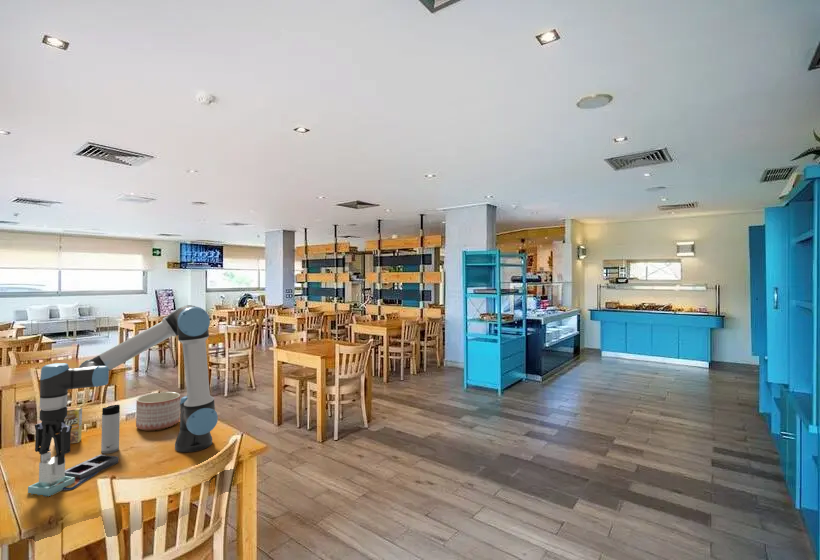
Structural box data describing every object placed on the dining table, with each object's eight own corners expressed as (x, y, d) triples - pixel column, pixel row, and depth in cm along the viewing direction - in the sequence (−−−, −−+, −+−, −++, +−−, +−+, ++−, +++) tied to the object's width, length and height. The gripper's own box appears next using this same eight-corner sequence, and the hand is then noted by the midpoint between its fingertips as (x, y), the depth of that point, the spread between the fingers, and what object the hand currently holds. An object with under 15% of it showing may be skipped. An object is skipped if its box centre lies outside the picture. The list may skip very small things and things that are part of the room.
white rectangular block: (64, 480, 148) (65, 458, 148) (50, 486, 143) (50, 464, 143) (53, 478, 149) (54, 456, 149) (38, 485, 144) (39, 462, 144)
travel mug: (110, 454, 174) (111, 408, 174) (97, 453, 176) (98, 406, 176) (123, 448, 180) (124, 403, 180) (110, 447, 182) (111, 402, 182)
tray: (74, 484, 149) (74, 477, 149) (48, 496, 141) (49, 489, 141) (54, 481, 151) (54, 474, 151) (27, 493, 142) (28, 486, 142)
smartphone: (101, 471, 160) (101, 469, 160) (71, 490, 145) (71, 487, 145) (82, 471, 160) (82, 469, 160) (50, 490, 145) (50, 487, 145)
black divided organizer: (118, 462, 167) (118, 456, 167) (80, 481, 151) (80, 474, 151) (100, 460, 169) (100, 454, 169) (60, 478, 153) (60, 472, 153)
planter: (147, 435, 196) (147, 404, 196) (128, 427, 206) (129, 397, 207) (187, 424, 212) (187, 395, 212) (168, 416, 223) (168, 389, 223)
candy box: (54, 445, 182) (54, 411, 182) (58, 442, 186) (58, 408, 186) (78, 442, 186) (79, 409, 186) (81, 439, 190) (82, 406, 190)
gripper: (84, 406, 148) (83, 470, 148) (44, 402, 151) (42, 464, 151) (63, 412, 140) (62, 480, 140) (21, 408, 144) (20, 474, 144)
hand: (52, 472), depth 146 cm, fingers closed on white rectangular block, 5 cm apart
